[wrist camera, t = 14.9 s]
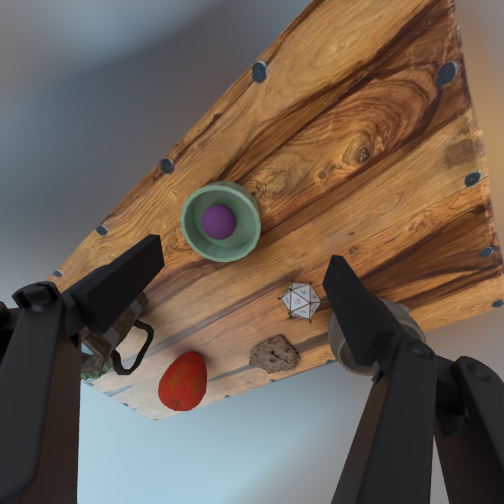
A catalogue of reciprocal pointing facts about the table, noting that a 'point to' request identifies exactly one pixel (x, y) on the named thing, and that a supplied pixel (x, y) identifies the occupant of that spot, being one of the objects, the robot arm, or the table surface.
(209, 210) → the plum ball
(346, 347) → the bowl
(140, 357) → the mug
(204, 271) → the table surface
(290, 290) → the game die
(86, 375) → the decorative artifact
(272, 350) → the rock
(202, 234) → the green bowl
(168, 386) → the apple
